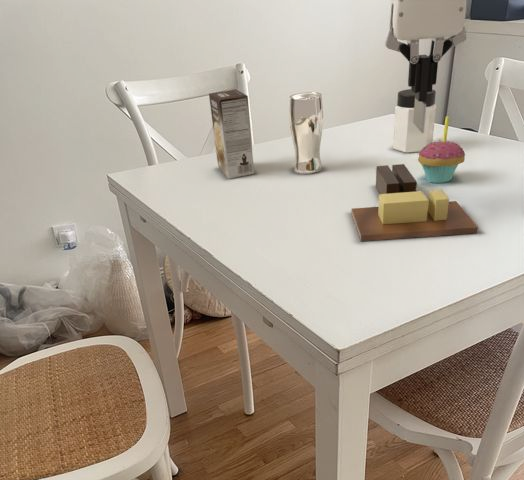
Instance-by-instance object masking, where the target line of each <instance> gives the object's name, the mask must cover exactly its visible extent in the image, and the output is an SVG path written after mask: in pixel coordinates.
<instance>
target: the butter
mask: <svg viewBox="0 0 524 480" xmlns="http://www.w3.org/2000/svg"><path fill="white" fill-rule="evenodd" d="M428 201H429V198H428V197H427V196H426V194H425V193H424V192H423V191H422V190H419V191H417V190H416V192H403V193H389V194H379V193H378V206H377V207H378V215H379V217H380V219H381V222H382V224H396V223H410V222H424V221H427V211H428Z"/></svg>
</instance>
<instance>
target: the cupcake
mask: <svg viewBox="0 0 524 480" xmlns="http://www.w3.org/2000/svg"><path fill="white" fill-rule="evenodd" d="M449 113H450V112H449V111H448V112H447V115H446V116H445V120H444V127H443V133H442V134H443V136H442V140H439V141H435V140H434V141H433V142H432V143H430V144H427V145H426V146H425V147H423V148H422V150H420V152H418V157H417V162H418V163H419V164H420V165H421V167H422V169H423V172H424V177H425V180H426V182H429V183H433V184H442V183H443V184H444V183H449V182H450V181H451V180H452V178H453V176H454V173H455V171H456V170H457V168H458V166H459V165H460V164H462V163H464V162H465V157H466V153H465V150H464V148H463V147H461V145H459V144H458V143H456V142H453V141H449V140H447V139H448V138H447V137H448V130H449V123H450V116H449V115H450V114H449Z"/></svg>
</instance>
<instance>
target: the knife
mask: <svg viewBox="0 0 524 480" xmlns="http://www.w3.org/2000/svg"><path fill="white" fill-rule="evenodd" d="M419 59H420V64H421V77H420V90H419V92H418V93H415V105H414V118H413V123H414V124H415V126H416V127H417V128H418V129H419V130H420V131H421V133H424V126H425V114H426V103H425V102H424V101H427V90H428V79H429V67H430V57H429V55H427V54H419Z"/></svg>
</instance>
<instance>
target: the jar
mask: <svg viewBox="0 0 524 480" xmlns="http://www.w3.org/2000/svg"><path fill="white" fill-rule="evenodd" d="M436 91H437V90H435V89H432V92H427V101H424V102H425V103H426V114H425V126H424V133H421V131H420V130H419V129H418V128H417V127H416V126H415V124H414V123H413V118H414V105H415V93H414V92H413V91H412V90H411V88H409V89H403V90H400V91H398V92H397V99H396V100H397V102H396V105H395V108H394V123H393V142H392V149H393V150H395V151H398V152H403V153H404V154H405V153H406V154H407V153H409V154H410V153H420V150H422V148H423V147H425V146H426V145H427V144H430V143H432V142H434V141H433V140H434V131H435V129H434V128H435V121H436V110H437V103H436V95H437V92H436Z"/></svg>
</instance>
